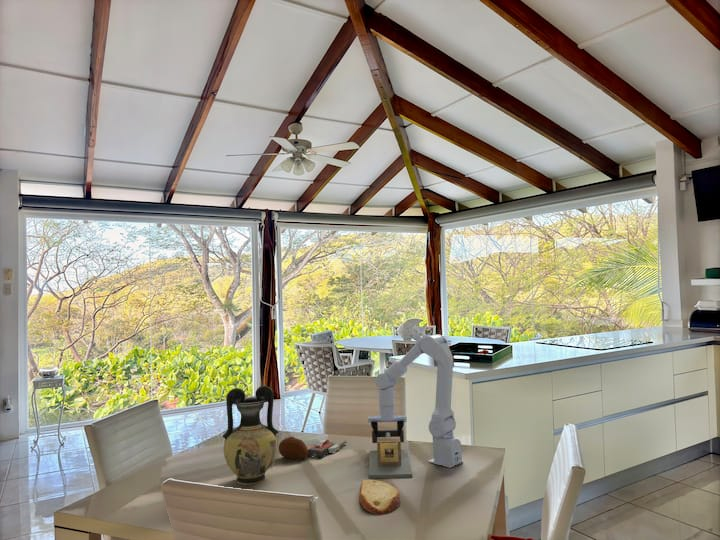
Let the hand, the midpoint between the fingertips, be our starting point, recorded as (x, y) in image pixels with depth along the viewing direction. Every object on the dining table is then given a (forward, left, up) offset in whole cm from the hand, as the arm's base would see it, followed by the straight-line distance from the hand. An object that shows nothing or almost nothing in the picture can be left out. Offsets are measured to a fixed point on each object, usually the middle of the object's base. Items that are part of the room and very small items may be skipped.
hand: (388, 441), depth 180 cm
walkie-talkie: (+20, +14, -4) cm, 24 cm away
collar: (-13, +13, -1) cm, 19 cm away
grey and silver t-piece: (-5, +5, -1) cm, 7 cm away
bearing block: (-11, +10, -4) cm, 15 cm away
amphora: (+13, +50, -4) cm, 52 cm away
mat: (-11, +10, -4) cm, 15 cm away
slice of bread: (-27, +34, -5) cm, 44 cm away
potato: (+21, +28, -4) cm, 36 cm away
